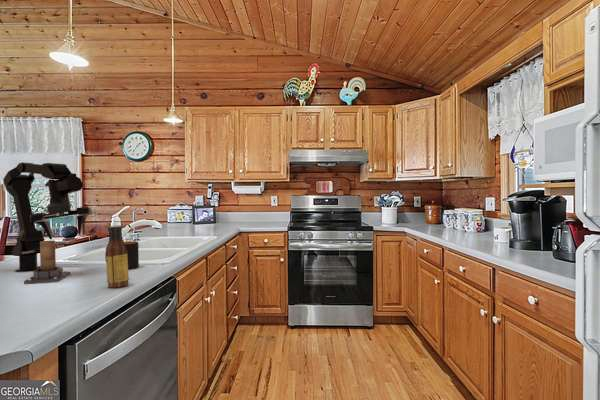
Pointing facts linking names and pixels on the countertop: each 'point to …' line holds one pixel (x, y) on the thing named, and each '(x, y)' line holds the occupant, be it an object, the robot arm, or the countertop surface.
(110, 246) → the sauce bottle
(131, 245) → the mug
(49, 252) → the brown round cylinder
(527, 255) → the countertop surface
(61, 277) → the bracket
